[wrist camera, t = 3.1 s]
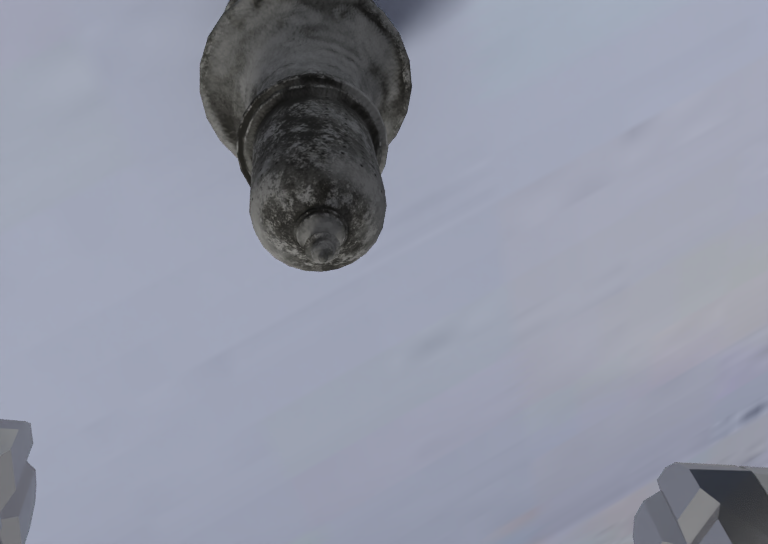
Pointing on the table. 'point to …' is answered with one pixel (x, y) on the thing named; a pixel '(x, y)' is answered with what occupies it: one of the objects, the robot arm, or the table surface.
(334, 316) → the table surface
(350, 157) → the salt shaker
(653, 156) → the table surface
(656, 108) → the table surface
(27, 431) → the robot arm
